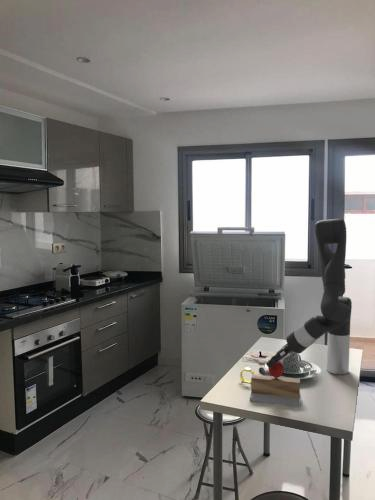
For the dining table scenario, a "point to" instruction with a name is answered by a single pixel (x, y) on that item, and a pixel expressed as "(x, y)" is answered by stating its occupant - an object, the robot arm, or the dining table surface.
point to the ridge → (275, 386)
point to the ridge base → (274, 399)
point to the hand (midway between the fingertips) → (272, 362)
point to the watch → (246, 370)
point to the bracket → (263, 371)
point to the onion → (276, 370)
